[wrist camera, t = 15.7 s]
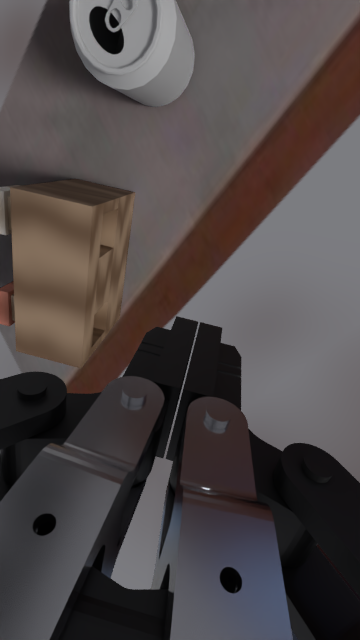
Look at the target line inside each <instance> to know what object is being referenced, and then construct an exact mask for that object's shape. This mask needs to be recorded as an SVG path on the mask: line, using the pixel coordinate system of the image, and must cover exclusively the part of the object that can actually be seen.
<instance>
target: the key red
mask: <svg viewBox="0 0 360 640" xmlns="http://www.w3.org/2000/svg"><path fill="white" fill-rule="evenodd" d="M13 323H15V306H14V281H12V282H11V283H9V284H7V285H5V286H3V287H1V288H0V324H3V325H7V326H10V325H12V324H13Z"/></svg>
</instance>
